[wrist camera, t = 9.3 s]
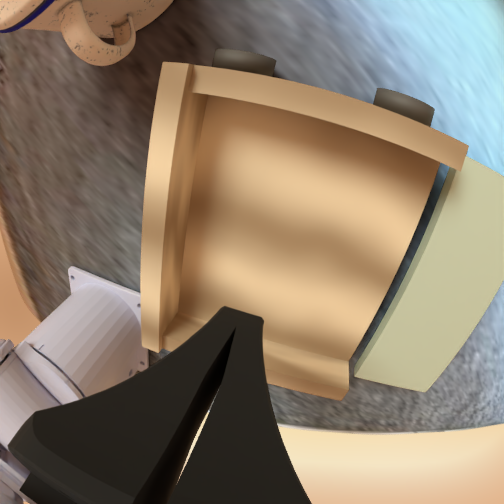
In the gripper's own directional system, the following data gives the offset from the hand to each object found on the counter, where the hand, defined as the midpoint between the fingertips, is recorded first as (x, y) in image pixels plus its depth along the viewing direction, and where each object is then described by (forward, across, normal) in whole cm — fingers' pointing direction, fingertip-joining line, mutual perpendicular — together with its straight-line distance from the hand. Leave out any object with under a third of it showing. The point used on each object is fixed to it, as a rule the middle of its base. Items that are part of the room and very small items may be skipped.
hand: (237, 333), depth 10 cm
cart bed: (+9, 0, 0) cm, 9 cm away
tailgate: (+7, -8, 0) cm, 11 cm away
